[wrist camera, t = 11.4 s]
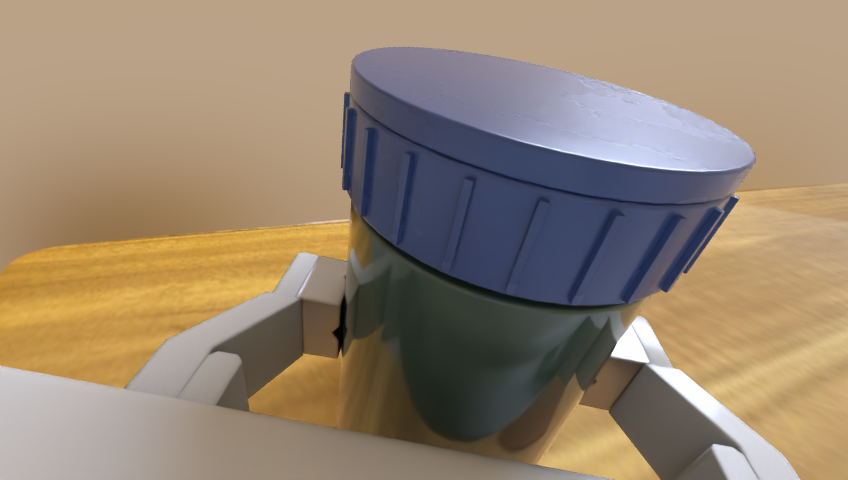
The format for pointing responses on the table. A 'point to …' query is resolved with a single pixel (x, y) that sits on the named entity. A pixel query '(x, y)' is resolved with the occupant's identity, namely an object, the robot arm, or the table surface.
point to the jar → (462, 355)
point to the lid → (534, 174)
